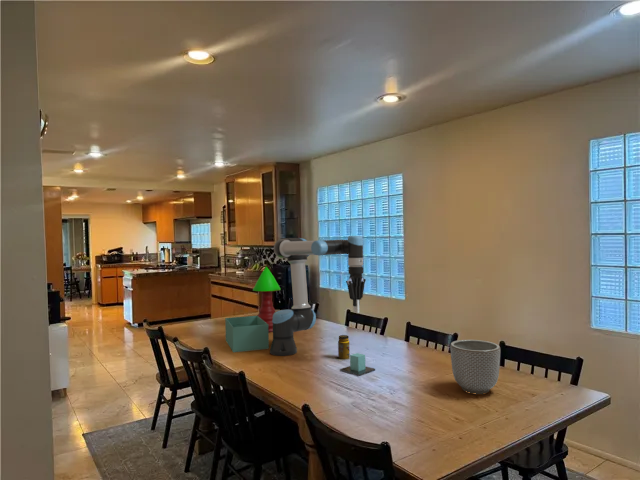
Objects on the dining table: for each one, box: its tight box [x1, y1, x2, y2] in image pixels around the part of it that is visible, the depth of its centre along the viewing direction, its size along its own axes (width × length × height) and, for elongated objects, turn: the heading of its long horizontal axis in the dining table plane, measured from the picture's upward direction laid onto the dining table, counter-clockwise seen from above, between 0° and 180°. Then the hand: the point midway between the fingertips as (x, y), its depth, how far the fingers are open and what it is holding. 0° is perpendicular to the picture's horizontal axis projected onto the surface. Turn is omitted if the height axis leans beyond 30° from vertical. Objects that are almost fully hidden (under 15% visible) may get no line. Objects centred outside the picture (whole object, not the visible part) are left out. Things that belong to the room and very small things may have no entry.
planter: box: [449, 339, 501, 395], centre depth 185 cm, size 20×20×19 cm
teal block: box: [349, 352, 366, 371], centre depth 215 cm, size 5×5×7 cm
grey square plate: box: [339, 365, 376, 377], centre depth 215 cm, size 12×12×6 cm
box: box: [224, 315, 270, 353], centre depth 272 cm, size 21×32×14 cm, turn 20°
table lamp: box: [252, 266, 281, 333], centre depth 314 cm, size 20×20×45 cm
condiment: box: [332, 334, 351, 362], centre depth 237 cm, size 7×8×12 cm
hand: (356, 312), depth 226 cm, fingers closed
